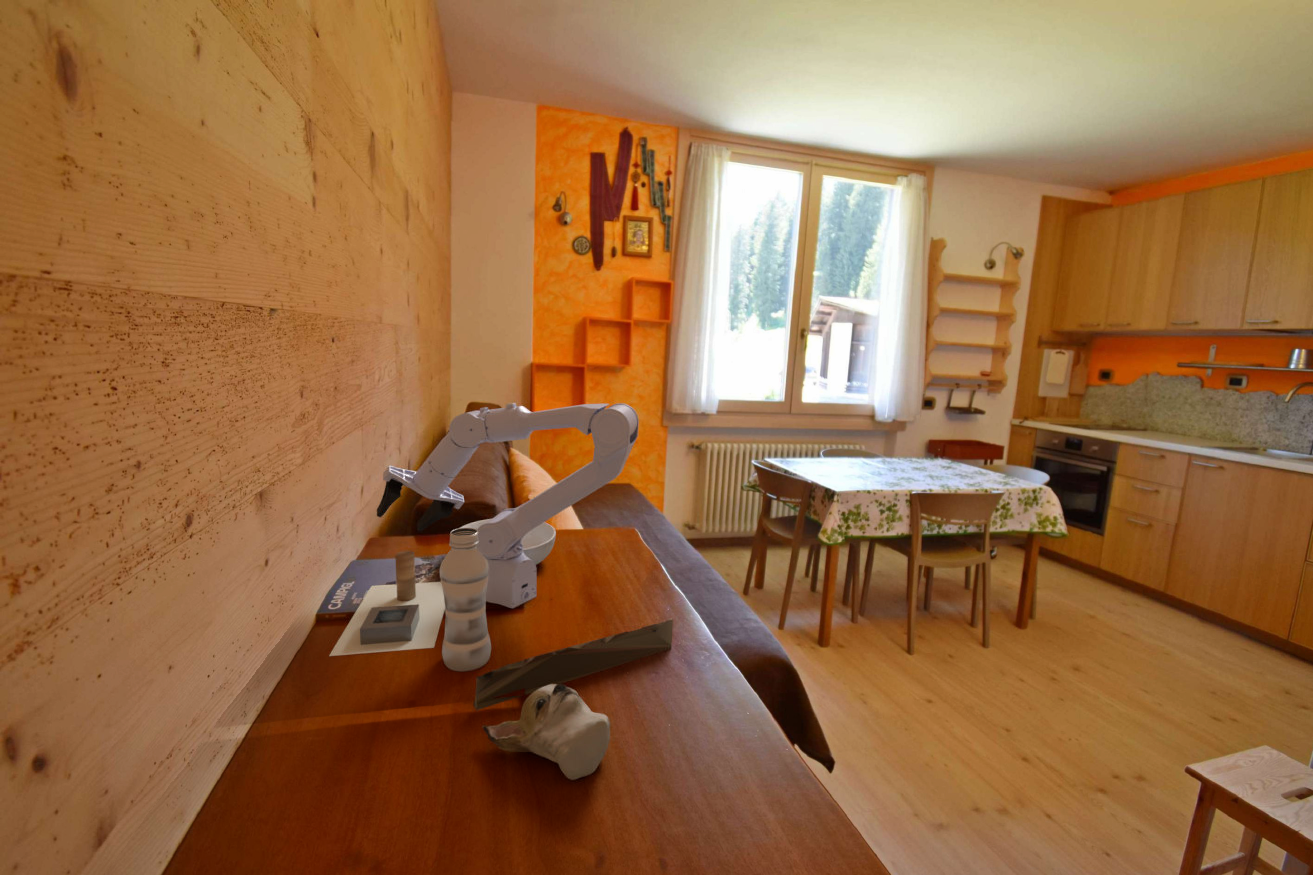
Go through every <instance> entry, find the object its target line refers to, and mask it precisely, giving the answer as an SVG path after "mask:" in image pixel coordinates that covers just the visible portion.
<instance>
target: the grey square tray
mask: <svg viewBox="0 0 1313 875" xmlns="http://www.w3.org/2000/svg"><path fill="white" fill-rule="evenodd" d="M419 619H420V618H419V604H417V605H402V606H387V607H372V608H371V610H370V612H369V613H368V615H367V617H366V619H365V621H364V622H363V624H362V626H361V628H360V642H361V645H364V644H377V643H390V642H402V641H412V638H413V635H414V633H415V630H416V627H417V624H418V622H419Z"/></svg>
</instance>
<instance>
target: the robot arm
mask: <svg viewBox="0 0 1313 875" xmlns="http://www.w3.org/2000/svg"><path fill="white" fill-rule="evenodd" d="M608 406H609V407H608ZM639 423H640V422H639V417H638V413H637V412H636V410H635V409H634V408H633V407H632V406H631V405H629V404H626V403H623V402H622V403H618V402H617V403H615V404H612V405H610V403H585V404H578V405H577V404H576V405H571V406H563V407H558V408H557V407H556V408H552V409H544V410H538V411H530V409H528V408H527V407H525V406H523V405H517V403H516V402H511V403H507V404H506V405H505V407H501V408H500V407H499V408H492V409H489V407H487V406H486V407H481V408H479V410H472V411H468V412H463V413H461V414H459V415H457V416H456V415H455V417H453V419H451V422H450V424H449V426H448V432H447V433H446V435H445V436H444V437H443V438H442V439H441V440H440V441H439V442H438V445H436V446H435V448H434V449H433V450H432V452H430V453H429V456H428V457H427V458H426V460H425V461H424V462H423V463H422V465H421V466H420V467H419V469H418V470H417V471H415V470H411V469H410V470H409V469H403V468H400V467H396V466H393V465H388V466H387V467H386V469H385V470H384V471H383V473H382V479H383V481H386V482H385V485H384V486H385V487H384V492H383V494H382V497H381V501H380V503H379V505H378V507H377V509H376V517H378V518H382V517H383V516H384V514H386V512H387V510H388V509H389V508H390V507H391V505H392V504H394V503H395V502H396V501H397V500H398V499H399V498H401V496H402V494H401V492H402V489H403V486H404V487H407V488H408V489H411V490H413V491H414V492H416V493H417V494H419V495H420V496H423V497H424V498H427V499H429V500H433V501H432V502H431V504H430V505H429V507H428V508H427V510H426V511H425V512H424V513H423V514H422V515H421V517H420V518H419V520H418V521H417V522H416V525H417V526H416V528H417V531H418V532H422V531H423V530H425V529H426V528H428V527H429V526H431V525H433V523H436V522H437V521H439V520H441V519H444V518H448V517H450V516H451V515H452V514H453V512H454V509H457V510H460V508H461V507H462V506H463V505H464V503H465V498H464V495H463V494H461V493H458V492H457V491H455V490H453V489H451V487H449V485H450V484H451V483H452V482H453V481H454V479H455V478H456V477H457V475H459V473H460V472H461V471H462V469H463V468H464V467H465V466H466V465H467V463H468V462H469V461H470V460H471V458H472V456H473V455H474V453H475V452H476V451H477V450H478V448H479V447H480V446H481V445H480V444H484V443H491V444H493V443H494V444H495V443H503V442H511V441H518V440H519V441H520V440H527V439H528V438H529V437H530V435H531V434H532V433H533V432H534V431H543V430H545V431H546V430H554V429H556V430H558V429H569V428H576V429H577V430H578V431H579V432H581V433H582V434H584V435H585V436H588V435H590V434H591V436H592V441H593V446H594V449H593V458H592V461H590V462H589V463H587V464H586V465H584V466H581V468H579V469H577V470H576V471H574V472H573V473H571V474H570V475H568V476H566V477H564V478H563V479H561V480H560V481H558V482H557V483H554V484H553V485H552V486H550V487H549V488H547V489H546V490H544V491H542V492H541V493H538V494H537V495H536V496H534V497H533V498H530V499H529V500H528V501H526V502H523V503H522V504H520V505H519V506H517V507H514V508H505V509H503V510H501V511H500V512H498V514H497V515H495V516H494V517H493V518H490V519H491V520H490V521H488V522H487V523H485V524H483V525H481V526H480V527H479V528H478V529H477V530H478V539H479V545H478V546H477V548H478V549H479V550H480V551H481V552H482V554H483V555H484V557H485V558H486V559H487V562H488V565H489V574H488V582H487V590H486V603H487V602H488V603H492V604H498V605H501V606H504V607H507V608H510V609H515V608H517V607H519V606H520V605H523V604H525V603H527V602H528V601H530V600H533V599H534V598H537V581H538V580H537V577H538V576H537V573H538V572H537V571H538V570H537V564H536V565H535V563H534V562H533V561H532V560H531V559H529V558H528V557H527V556H526V555H525V554H524V552H523V545H522V538H523V537H524V536H525V535H526V534H527V533H528V532H529V531H531V530H532V529H534V528H535V527H537V526H538V525H540V524H542V523H543V522H545V523H546V521H549V520H550V519H551V518H553V517H555V516H557V515H558V514H560V513H561V512H563V511H565V510H567V509H568V508H569V507H571V506H573V505H574V504H576V503H577V502H579V501H581V500H583V499H584V498H586V497H587V496H589V495H591V494H593V493H594V492H596V491H597V490H599V489H600V488H603V487H604V486H606V485H607V484H609V483H611V482H612V481H614V480H615V479H616V478H617V477H618V476H620V474H621V473H622V472H623V470H624V468H625V465H626V464H627V463H626V462H627V460H628V459H629V456H630V454H631V451H632V449H633V447H634V445H635V443H636V440H637V439H638V437H639ZM453 508H454V509H453ZM520 539H521V540H520Z"/></svg>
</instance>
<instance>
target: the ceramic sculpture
mask: <svg viewBox="0 0 1313 875" xmlns="http://www.w3.org/2000/svg"><path fill="white" fill-rule="evenodd" d="M482 729H483V731H484V733H485V734H486V735H487V737H488V739H489V740H490V741H491V743H493V744H494V745H496V746H497V748H499V749H500V750H503V751H507V752H514V753H518V752H519V753H528V752H529V753H530V752H531V753H533V754H535V755H538V756H540V757H543V758H546V759H548V760H550V761H552V762H554V763H557V764H558V766H559V769H560V770H561V772H562V773H563V774H564V776H565V778H567V779H569V780H571V781H575V780H578V779H579V778H580V779H581V778H584V777H587V776H590V775H591V774H593V773H594V772H595V771H596V770H597V768H598V766H599V764H600V763H601V762H602V760H603V759H604V757H605V755H606V752H607V750H608V748H609V744H610V741H611V722H610V719H609V717H608V716H607V715H606V714H604V713H599V712H593V711H592V710H591V708H590V707H589V706H588V705H587V704H586V703H585V701H584V700H583V699H582V697H580V695H579V693H578V692H577V691H576V690H575V689H573V688H571V687H568V686H566V685H565V684H564V683H561V684H558V685H557V684H550V685H547V686H544V687H542V688H540V689H538V690H536V691H534V692H533V693H530V694H529V695H528V696H527V698H526V699H525V701H524V702H523V704H522V707H521V713H520V717H519V720H505V721H503V722H502V723H501V722H500V723H498V724H497V725H482Z"/></svg>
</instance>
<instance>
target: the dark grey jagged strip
mask: <svg viewBox="0 0 1313 875" xmlns="http://www.w3.org/2000/svg"><path fill="white" fill-rule="evenodd" d="M673 626H674V619H673V618H668V619H667V620H665V621H662V622H658V623H653V624H649V625H645V626H642V627H641V628H637V629H634V630H631V631H627V630H626V631H624V632H620V633H616V634H613V635H608V636H606V637H605V636H604V637H602V638H598V639H595V640H590V641H587V642H583V643H580V644H575V645H570V646H568V647H564V648H561V649H555V650H553V651H549V652H546V653H542V654H538V655H535V656H531V657H529V658H525V659H523V660H519V661H517V662H516V661H515V662H513V663H507V664H505V665H504V666H500V667H498V668H497V669H492V670H491V668H490V669H489V671H487V672H484V673H483V674H481V675H479V676H476V682H475V683H476V684H475V697H474V698H475V700H474V701H473V704H472V705H473V707H474V708H475V711H479V710H481V709H485V708H488V707H492V706H495V705H497V704H501V703H503V702H507V701H510V700H511V701H512V700H514V699H517V698H521V697H522V696H524V695H525V696H526V695H530V694H532V693H533V692H534V691H536V690H538V689H540V688H542V687H544V686H547V685H550V684H557V685H558V684H564V683H567V682H571V681H573V680H576V679H580V678H582V677H585V676H590V675H593V674H595V673H598V672H601V671H605V670H608V669H611V668H615V667H617V666H620V665H624V664H627V663H630V662H632V661H636V660H639V659H643V658H645V657H649V656H651V655H655V654H659V653H661V652H665V651H667V650H671V649H672V644H673V643H672V642H673V630H674V629H673V628H674V627H673ZM490 670H491V671H490ZM521 690H524V695H514V696H505V697H504V695H507V694H510V693H513V692H517V691H521ZM500 696H503V697H500Z"/></svg>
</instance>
